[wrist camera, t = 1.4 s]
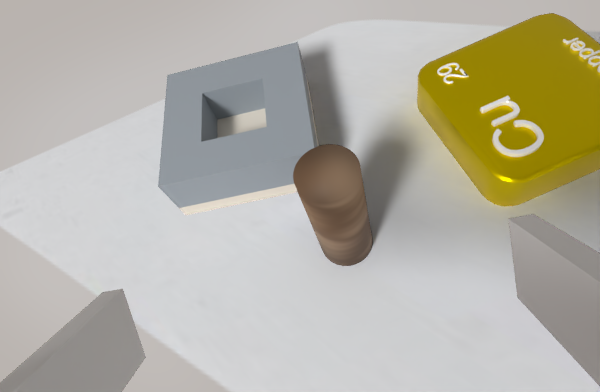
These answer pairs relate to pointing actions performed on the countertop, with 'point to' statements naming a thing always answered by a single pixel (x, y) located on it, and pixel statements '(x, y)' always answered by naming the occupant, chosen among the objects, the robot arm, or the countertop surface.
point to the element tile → (518, 108)
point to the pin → (335, 202)
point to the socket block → (236, 130)
